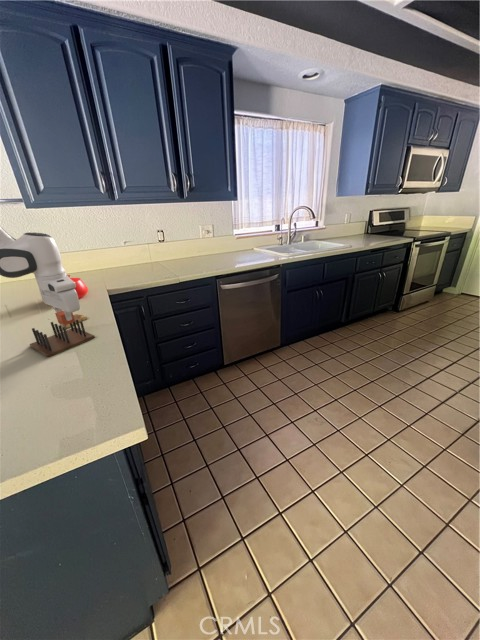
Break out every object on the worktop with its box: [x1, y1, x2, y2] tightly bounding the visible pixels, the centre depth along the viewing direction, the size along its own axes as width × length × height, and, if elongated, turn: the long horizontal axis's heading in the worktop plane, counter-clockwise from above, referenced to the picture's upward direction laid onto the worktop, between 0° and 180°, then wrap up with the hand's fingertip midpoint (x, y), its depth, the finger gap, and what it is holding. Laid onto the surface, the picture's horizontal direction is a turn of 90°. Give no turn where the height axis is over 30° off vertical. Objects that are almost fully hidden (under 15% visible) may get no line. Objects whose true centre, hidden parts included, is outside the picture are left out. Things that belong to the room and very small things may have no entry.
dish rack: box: [29, 320, 95, 358], centre depth 96 cm, size 16×14×7 cm
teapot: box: [67, 274, 89, 300], centre depth 142 cm, size 25×16×12 cm, turn 26°
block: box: [54, 310, 75, 326], centre depth 96 cm, size 4×4×4 cm
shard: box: [64, 313, 88, 329], centre depth 113 cm, size 11×8×2 cm
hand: (65, 318), depth 96 cm, fingers closed on block, 4 cm apart
